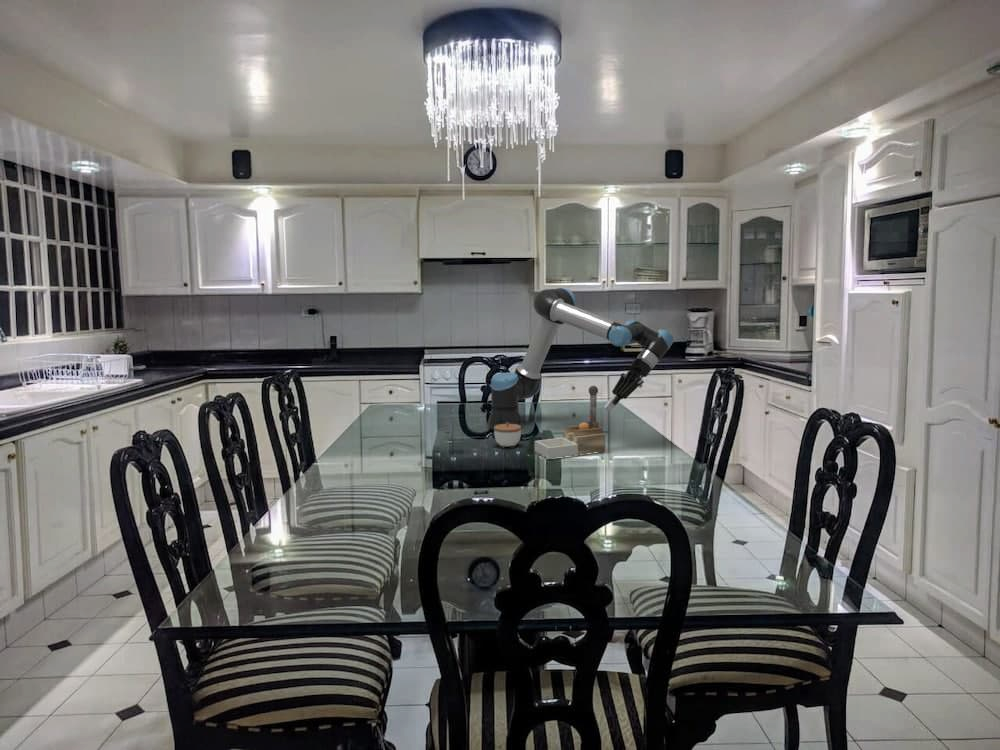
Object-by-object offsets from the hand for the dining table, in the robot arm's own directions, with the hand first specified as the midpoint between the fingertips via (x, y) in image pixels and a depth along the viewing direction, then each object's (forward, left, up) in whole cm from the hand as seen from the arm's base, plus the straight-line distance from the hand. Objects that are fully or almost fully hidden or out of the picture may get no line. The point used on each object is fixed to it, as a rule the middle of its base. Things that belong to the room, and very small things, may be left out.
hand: (606, 409), depth 279 cm
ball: (0, -10, -6) cm, 12 cm away
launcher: (0, -10, -15) cm, 18 cm away
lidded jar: (-20, -33, -15) cm, 41 cm away
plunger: (0, -6, -8) cm, 10 cm away
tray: (0, -22, -15) cm, 27 cm away
